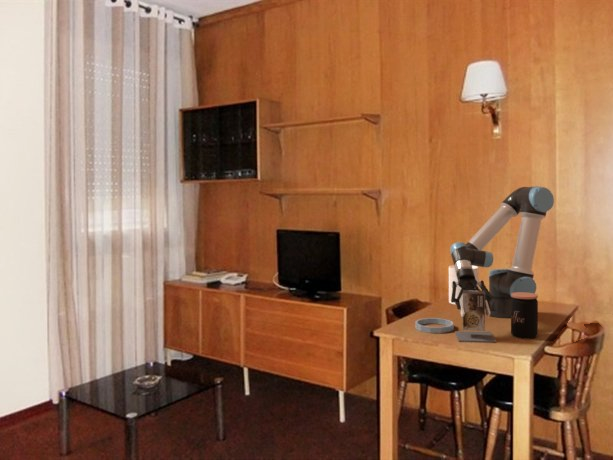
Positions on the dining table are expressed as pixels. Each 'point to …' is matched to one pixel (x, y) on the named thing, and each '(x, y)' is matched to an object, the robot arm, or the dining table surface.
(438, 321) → the faceted grey ring
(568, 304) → the dining table surface
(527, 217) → the robot arm
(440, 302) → the dining table surface
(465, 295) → the coffee box
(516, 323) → the coffee jar
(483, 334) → the rubber mat
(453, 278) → the canister
